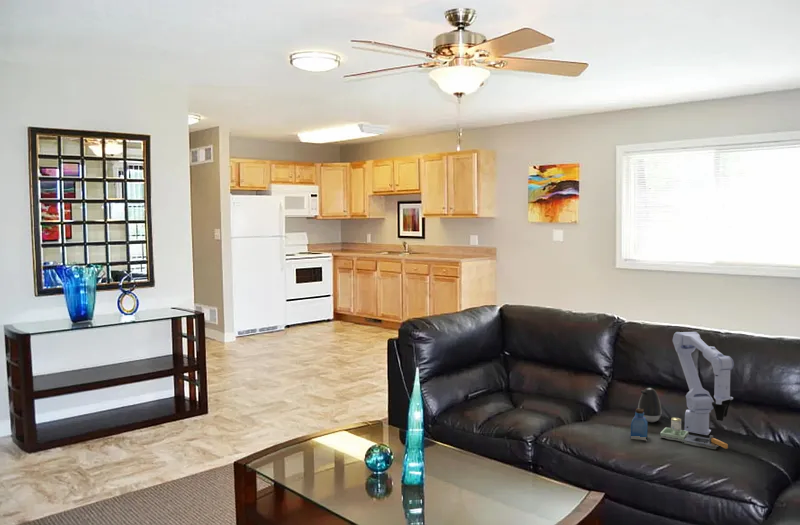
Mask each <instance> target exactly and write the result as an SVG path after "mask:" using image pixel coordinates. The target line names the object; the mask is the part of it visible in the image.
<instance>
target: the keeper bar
mask: <svg viewBox="0 0 800 525" xmlns="http://www.w3.org/2000/svg"><path fill="white" fill-rule="evenodd" d="M709 438H710V442H713V443H715V444H717V445H719V446H718V447H722V448H723V449H729V445H728V443H726V442H724V441H722V440H720V439H717V438H714V435H713V434H712V435H711V434H710V435H709ZM719 440H720V441H719Z"/></svg>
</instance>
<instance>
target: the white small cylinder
mask: <svg viewBox="0 0 800 525" xmlns="http://www.w3.org/2000/svg"><path fill="white" fill-rule="evenodd" d="M670 428H671V434H673V435H678V436H681V430H682V418H679V417H671V418H670Z"/></svg>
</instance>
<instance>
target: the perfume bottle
mask: <svg viewBox="0 0 800 525" xmlns="http://www.w3.org/2000/svg"><path fill="white" fill-rule="evenodd" d="M643 411H644V410H643V409H638V408H636V409H635V412H634V413H635V415H634V417H632V420H631V423H630V437H631V436H640V437H647V438H648V431H649V430H648V429H649V428H648V424H649V422H647V420H646V418H645V417H643V416H644V412H643Z"/></svg>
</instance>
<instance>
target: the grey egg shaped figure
mask: <svg viewBox="0 0 800 525" xmlns="http://www.w3.org/2000/svg"><path fill="white" fill-rule="evenodd" d="M640 393H641V395H640V398H639V401H638V405H637V409H643V410H644V411H643V412H644V416H643V417H645V418H646V420H647V422H648V423H655V422H657V421H659V420H660V419H661V416H662V414H663V413H662V405H661V404H662V403H661V400H660V397H659V394H658V393H657V391H656V390H655V389H654V388H652V387H646V388H645V389H644V390H641V391H640Z"/></svg>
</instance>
